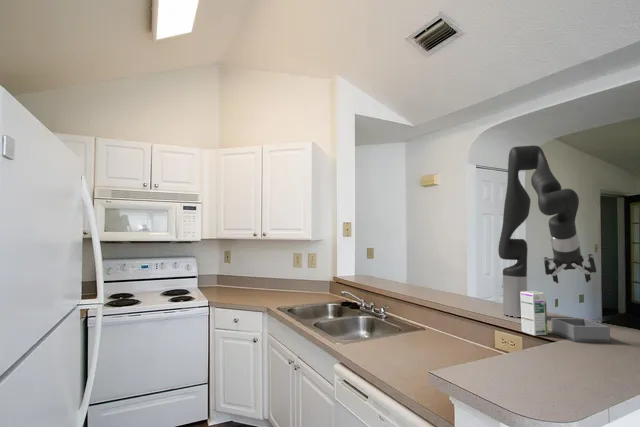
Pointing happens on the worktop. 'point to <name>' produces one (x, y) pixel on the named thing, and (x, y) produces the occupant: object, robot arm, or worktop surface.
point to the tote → (580, 330)
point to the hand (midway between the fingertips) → (571, 281)
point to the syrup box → (533, 312)
